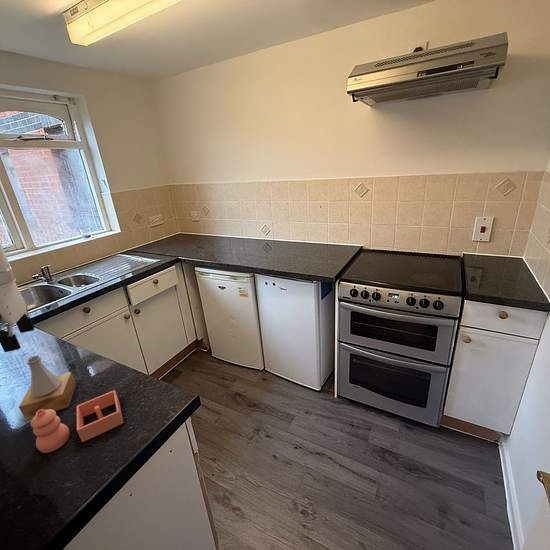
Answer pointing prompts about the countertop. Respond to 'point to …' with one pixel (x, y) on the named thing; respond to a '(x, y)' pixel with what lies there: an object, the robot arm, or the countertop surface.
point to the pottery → (57, 434)
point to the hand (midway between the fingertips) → (20, 340)
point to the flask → (41, 378)
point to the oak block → (49, 398)
